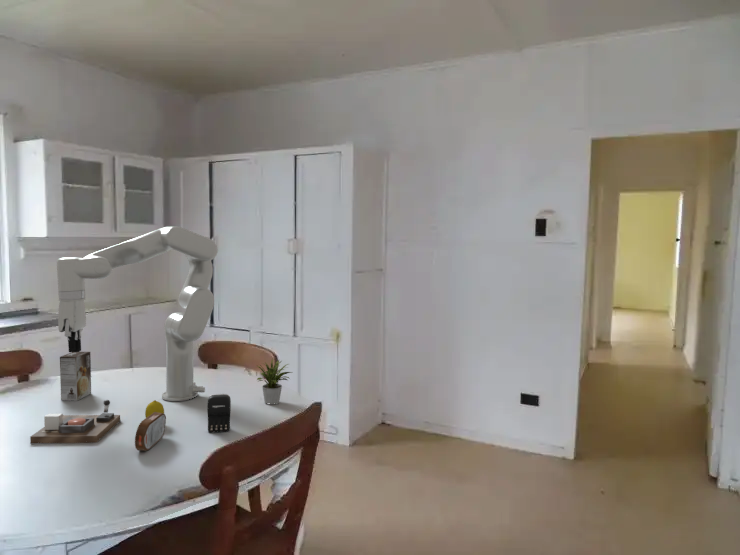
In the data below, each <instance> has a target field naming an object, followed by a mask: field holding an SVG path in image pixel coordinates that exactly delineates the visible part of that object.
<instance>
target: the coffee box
mask: <svg viewBox="0 0 740 555" xmlns="http://www.w3.org/2000/svg"><path fill="white" fill-rule="evenodd" d="M91 363H92V362H91V351H79V352H68V353H67V354H64V355H61V356H59V371H60V372H59V374H60V375H59V377H60V378H59V379H60V383H59V384H60V401H71V400H74V401H73V402H77V401H79V400H82V399H83V398H85V397H88V396H89V395H91V394H92V367H91V366H92V364H91Z"/></svg>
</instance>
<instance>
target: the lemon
mask: <svg viewBox="0 0 740 555" xmlns="http://www.w3.org/2000/svg"><path fill="white" fill-rule="evenodd" d="M154 412H157V413H164V414H165V408H164V405H163V403H161V402H160V401H159V400H158V401H157V400H152V401H151V402H150V403H147V406H146V408H145V413H144V414H145V415H144V416H145V419H146V418H147V417H148V416H150V415H151V414H153V413H154Z"/></svg>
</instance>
